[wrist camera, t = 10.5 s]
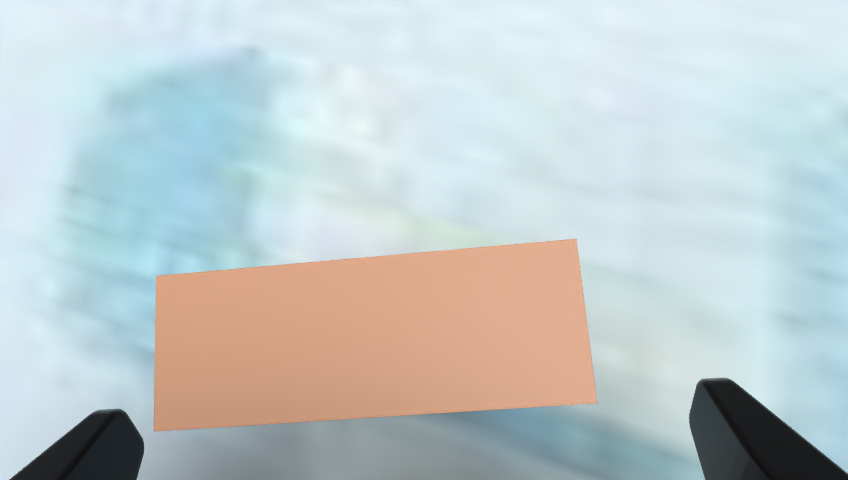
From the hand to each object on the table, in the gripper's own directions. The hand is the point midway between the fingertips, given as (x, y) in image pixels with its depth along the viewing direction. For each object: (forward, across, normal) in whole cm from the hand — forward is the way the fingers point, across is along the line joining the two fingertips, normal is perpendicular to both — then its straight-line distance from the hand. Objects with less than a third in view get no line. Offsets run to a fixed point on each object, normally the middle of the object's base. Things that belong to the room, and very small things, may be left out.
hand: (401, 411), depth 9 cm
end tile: (+8, 0, +6) cm, 10 cm away
